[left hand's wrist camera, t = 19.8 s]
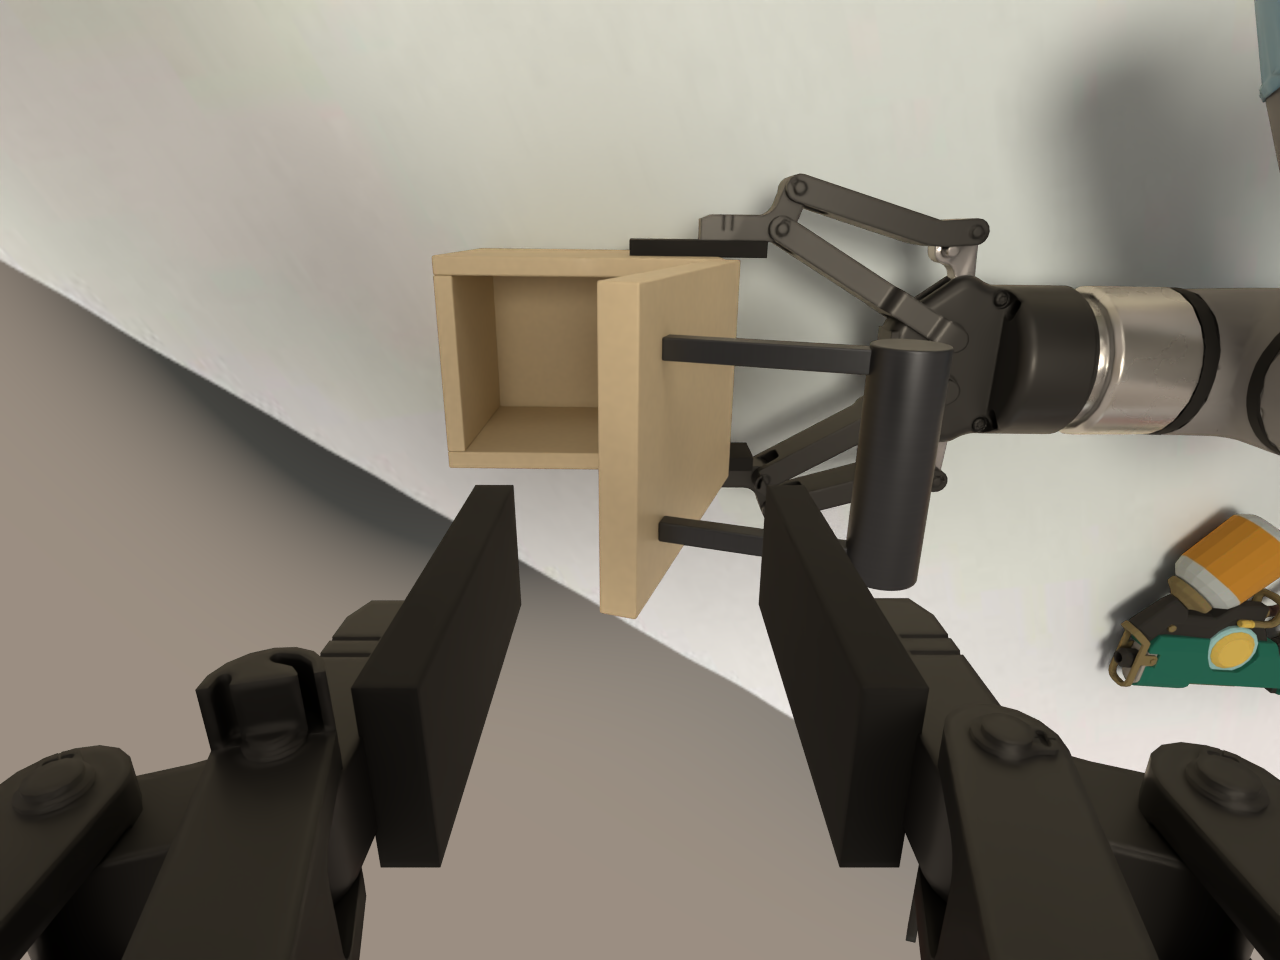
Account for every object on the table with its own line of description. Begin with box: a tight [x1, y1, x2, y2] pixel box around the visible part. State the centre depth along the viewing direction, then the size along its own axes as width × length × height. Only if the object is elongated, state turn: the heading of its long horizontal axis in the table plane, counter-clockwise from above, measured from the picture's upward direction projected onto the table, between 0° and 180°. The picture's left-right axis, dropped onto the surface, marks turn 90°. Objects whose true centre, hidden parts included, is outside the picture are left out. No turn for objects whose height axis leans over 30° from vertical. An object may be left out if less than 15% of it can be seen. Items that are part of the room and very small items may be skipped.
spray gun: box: [1109, 514, 1280, 695], centre depth 47 cm, size 4×17×15 cm
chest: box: [432, 248, 724, 469], centre depth 38 cm, size 13×10×10 cm
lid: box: [597, 259, 954, 619], centre depth 25 cm, size 14×10×9 cm
